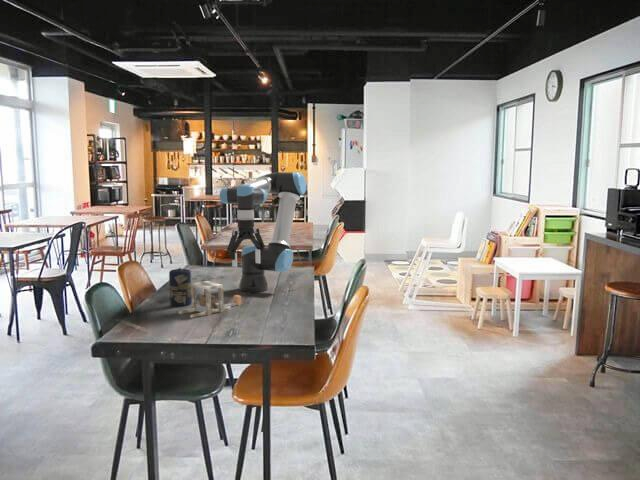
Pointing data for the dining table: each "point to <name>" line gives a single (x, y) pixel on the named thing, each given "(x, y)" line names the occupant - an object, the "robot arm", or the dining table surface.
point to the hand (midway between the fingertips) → (246, 265)
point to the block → (203, 301)
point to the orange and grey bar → (203, 309)
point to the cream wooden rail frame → (207, 291)
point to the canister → (180, 287)
